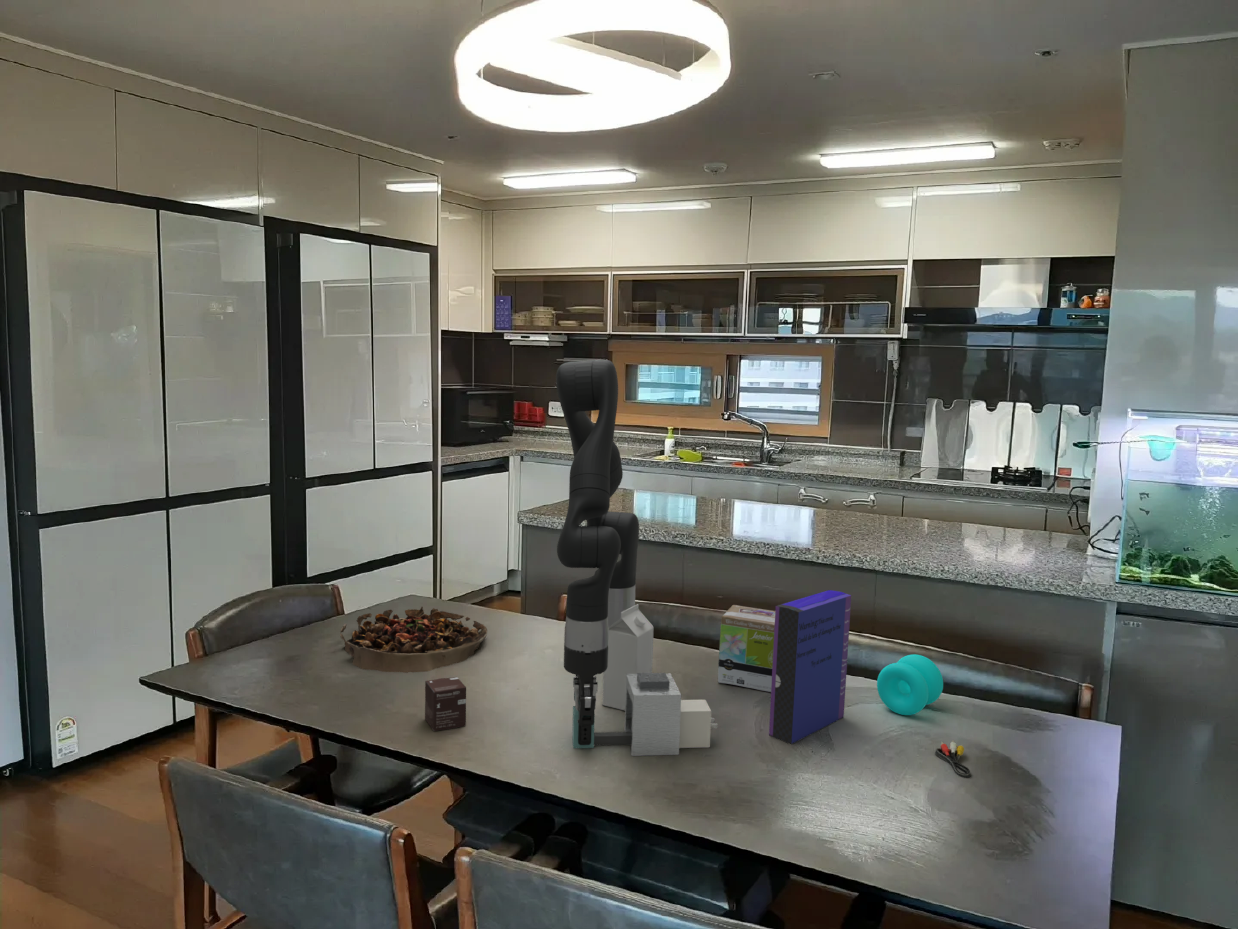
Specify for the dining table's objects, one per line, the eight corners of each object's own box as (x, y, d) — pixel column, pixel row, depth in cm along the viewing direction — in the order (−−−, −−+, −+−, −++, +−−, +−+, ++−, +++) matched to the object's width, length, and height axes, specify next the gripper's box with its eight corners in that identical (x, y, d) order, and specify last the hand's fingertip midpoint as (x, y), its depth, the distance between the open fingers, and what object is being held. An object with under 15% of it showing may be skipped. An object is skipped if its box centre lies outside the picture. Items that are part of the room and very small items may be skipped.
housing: (624, 730, 148) (626, 667, 147) (668, 729, 149) (670, 666, 148) (631, 756, 139) (634, 688, 137) (678, 754, 140) (681, 687, 138)
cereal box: (821, 710, 160) (828, 589, 158) (843, 717, 157) (851, 594, 154) (768, 735, 148) (775, 604, 146) (791, 744, 145) (798, 611, 142)
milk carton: (601, 706, 159) (604, 609, 157) (619, 694, 165) (622, 601, 163) (635, 714, 156) (638, 615, 154) (651, 701, 162) (654, 606, 160)
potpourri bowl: (377, 623, 210) (377, 593, 210) (503, 635, 206) (504, 604, 205) (306, 666, 176) (307, 630, 175) (456, 681, 171) (458, 644, 171)
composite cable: (973, 780, 134) (974, 766, 134) (941, 776, 135) (943, 762, 135) (961, 754, 144) (962, 740, 144) (932, 750, 145) (933, 737, 145)
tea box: (716, 684, 172) (719, 615, 171) (728, 669, 181) (731, 603, 180) (789, 697, 167) (792, 625, 165) (797, 680, 176) (801, 612, 174)
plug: (571, 737, 145) (572, 701, 144) (711, 734, 148) (713, 699, 147) (573, 750, 140) (574, 713, 139) (718, 747, 143) (719, 711, 142)
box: (432, 732, 146) (433, 692, 145) (424, 719, 151) (424, 680, 150) (466, 726, 148) (467, 687, 148) (456, 714, 154) (457, 675, 153)
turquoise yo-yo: (943, 709, 163) (947, 660, 162) (922, 724, 155) (926, 672, 154) (895, 694, 169) (898, 647, 168) (872, 708, 162) (875, 658, 161)
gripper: (562, 629, 147) (560, 722, 149) (566, 656, 133) (563, 758, 135) (604, 629, 148) (601, 721, 150) (612, 656, 134) (609, 757, 136)
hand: (583, 738), depth 143 cm, fingers closed on plug, 3 cm apart
